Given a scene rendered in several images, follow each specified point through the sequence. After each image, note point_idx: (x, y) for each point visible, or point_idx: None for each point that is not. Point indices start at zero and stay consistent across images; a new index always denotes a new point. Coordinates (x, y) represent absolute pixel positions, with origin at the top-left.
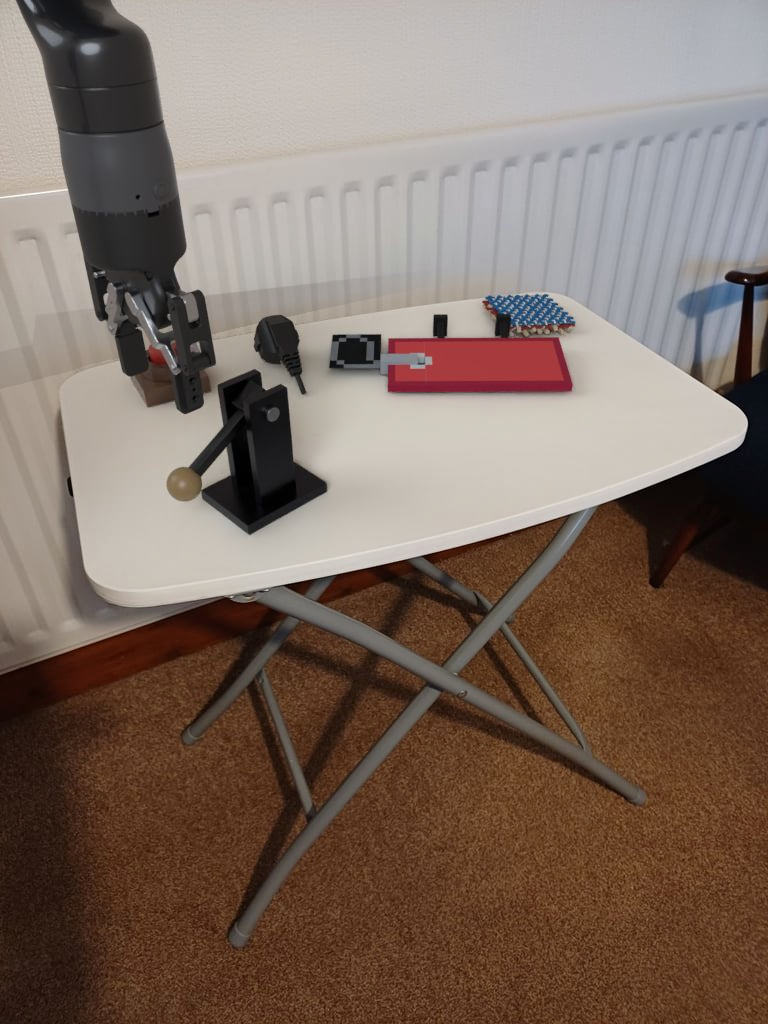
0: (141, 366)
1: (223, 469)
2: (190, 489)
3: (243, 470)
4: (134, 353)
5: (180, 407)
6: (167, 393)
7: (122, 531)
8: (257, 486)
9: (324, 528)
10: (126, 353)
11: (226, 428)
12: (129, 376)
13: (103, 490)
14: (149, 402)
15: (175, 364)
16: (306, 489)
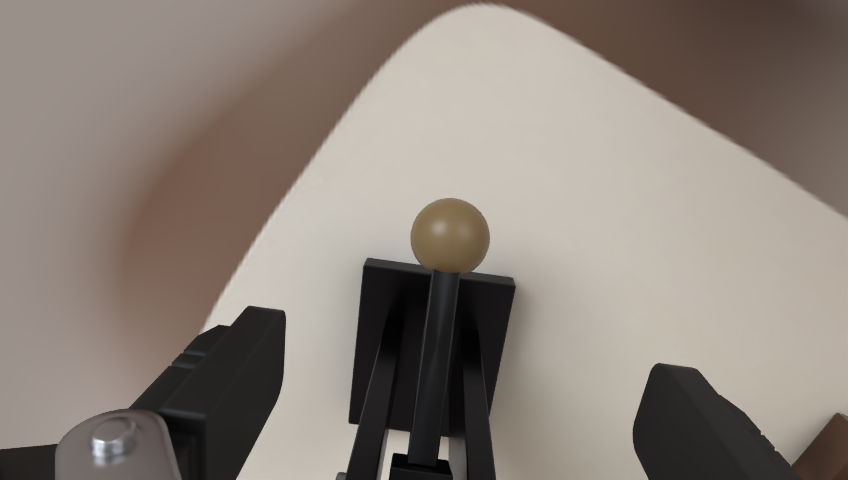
0: (647, 431)
1: (547, 358)
2: (413, 229)
3: (458, 361)
4: (681, 466)
5: (241, 315)
6: (822, 461)
7: (568, 121)
8: (387, 339)
9: (285, 341)
10: (701, 444)
11: (430, 403)
12: (655, 365)
13: (705, 181)
14: (840, 423)
15: (57, 460)
16: (360, 392)
